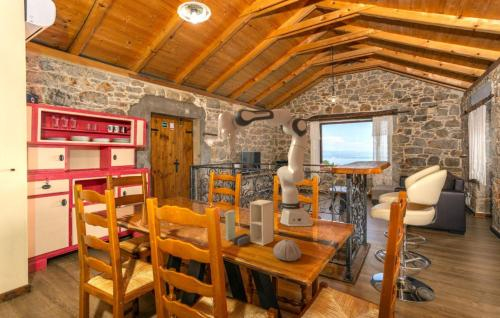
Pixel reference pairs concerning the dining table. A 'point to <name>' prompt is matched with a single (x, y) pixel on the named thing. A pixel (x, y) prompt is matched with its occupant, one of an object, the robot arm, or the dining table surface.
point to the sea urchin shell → (287, 250)
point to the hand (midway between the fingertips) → (234, 159)
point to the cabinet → (259, 224)
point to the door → (230, 224)
